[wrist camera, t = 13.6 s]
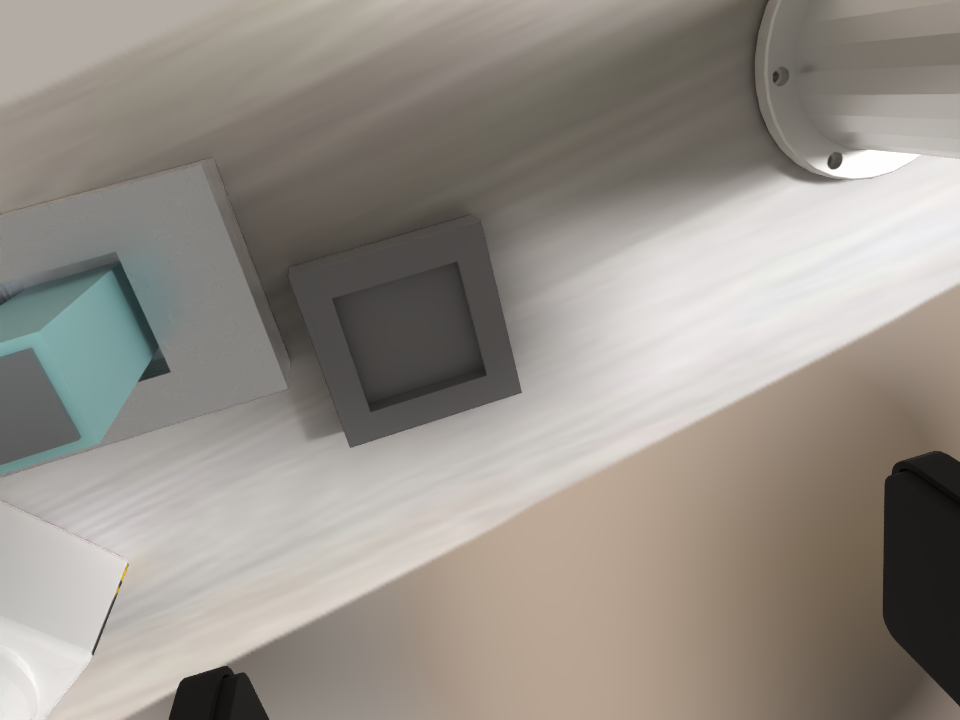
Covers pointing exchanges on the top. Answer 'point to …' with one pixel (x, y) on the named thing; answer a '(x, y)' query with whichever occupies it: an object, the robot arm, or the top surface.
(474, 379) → the grey square socket
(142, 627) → the top surface
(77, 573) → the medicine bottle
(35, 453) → the plug
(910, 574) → the robot arm
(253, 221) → the top surface
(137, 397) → the port
